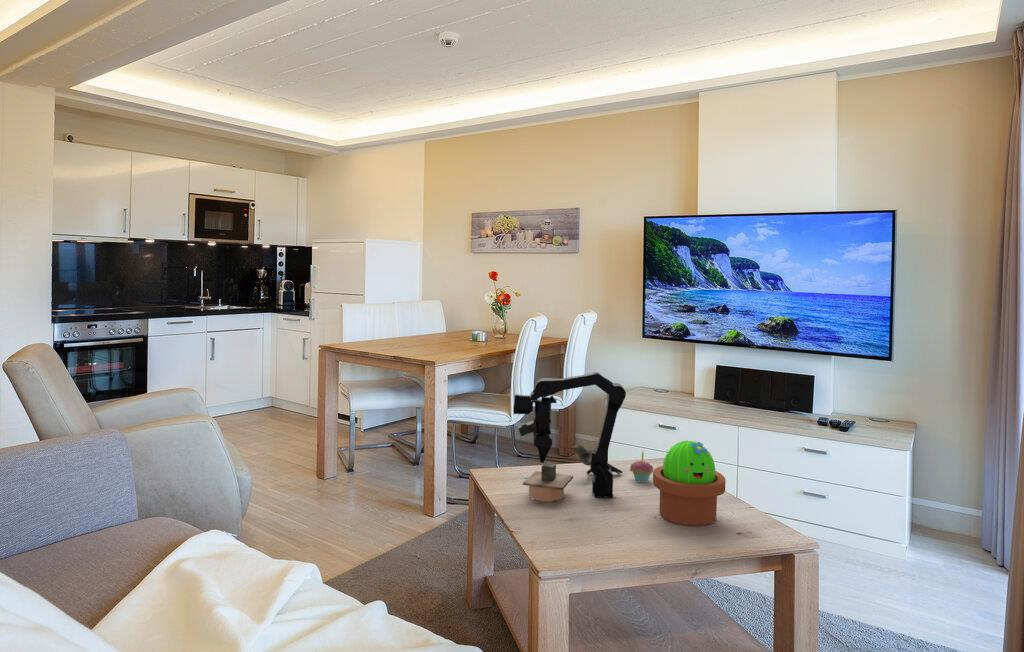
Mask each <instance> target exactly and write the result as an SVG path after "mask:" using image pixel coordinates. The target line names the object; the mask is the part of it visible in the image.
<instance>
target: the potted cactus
mask: <svg viewBox="0 0 1024 652" xmlns="http://www.w3.org/2000/svg"><path fill="white" fill-rule="evenodd" d="M666 451H667V452H666V454H665V457H664V458H663V465H662V466H661V465H660V466H658V467H655V468H653V472H652V484H653V486H654V487H655V488H656V489H658V490H659V505H658V506H659V514H660V516H661V517H662V518H663V519H665V520H666V521H668V522H671V523H673V524H677V525H682V526H689V527H690V526H691V527H701V526H709V525H711V524H713V523H714V522H716V520H717V509H718V507H717V504H718V497H719V496H722V495H723V494H724V493H725V492H726V482H727V481H726V477H725V476H724V475H723V474H722V473H720V472H718V471H717V468H716V466H715V462H714V458H713V456H712V455H711V452H709V451H708V448H706V447H704V443H702V442H699V441H697V440H684V441H683V440H681V441H678V442H676V444H673V445H672V446H670V448H669V449H667V450H666Z"/></svg>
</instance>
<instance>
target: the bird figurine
mask: <svg viewBox="0 0 1024 652" xmlns="http://www.w3.org/2000/svg"><path fill="white" fill-rule="evenodd" d="M569 449H571V450H573V451H574V452H575V453H576V454H577V456H578V457H579V460H580V461H581V463H582V464H583V465H585V466H590V465H589V461H588V458H589V456H590V450H588V449H587V448H585V447H584V446H583V445H582V444H576V445H573V446H570V447H569V448H568V450H569ZM608 466H609V467H610V468H611V471H612V473H616V474H617V475H619V474H620V475H621V474H623V473H624V472H623V470H621V469H619V468H617V467H615V466H614V465H612V464H610V463H608ZM591 473H592V471H591V468H589V469H588V470H587V471H586V474H587V475H588V474H589V475H590V474H591ZM594 476H596V475H595V474H593V477H594Z"/></svg>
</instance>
